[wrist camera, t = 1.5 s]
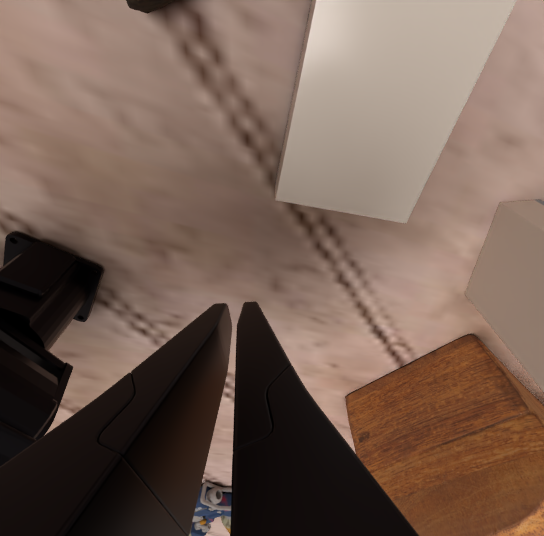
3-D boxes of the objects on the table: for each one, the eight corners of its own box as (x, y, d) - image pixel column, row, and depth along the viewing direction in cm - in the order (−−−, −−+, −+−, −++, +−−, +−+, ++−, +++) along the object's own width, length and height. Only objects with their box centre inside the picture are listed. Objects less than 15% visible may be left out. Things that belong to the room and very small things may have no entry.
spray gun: (278, 500, 52) (213, 472, 46) (277, 532, 49) (207, 506, 43) (202, 522, 61) (139, 501, 55) (197, 550, 58) (129, 530, 52)
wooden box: (586, 435, 39) (716, 592, 27) (463, 473, 46) (526, 611, 34) (488, 319, 27) (649, 514, 15) (341, 394, 33) (375, 567, 22)
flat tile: (391, 205, 20) (406, 223, 18) (275, 184, 19) (275, 200, 17) (490, -13, 14) (529, -26, 12) (323, -59, 13) (332, -81, 11)
